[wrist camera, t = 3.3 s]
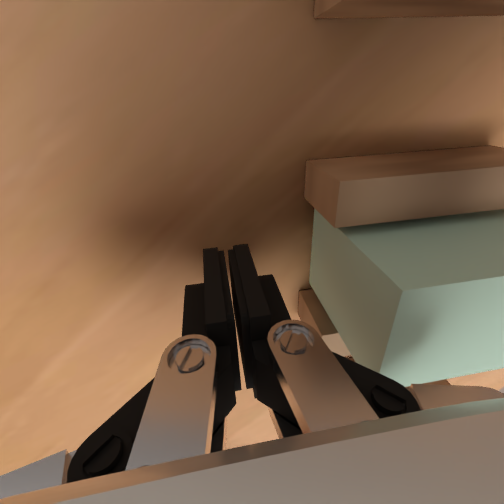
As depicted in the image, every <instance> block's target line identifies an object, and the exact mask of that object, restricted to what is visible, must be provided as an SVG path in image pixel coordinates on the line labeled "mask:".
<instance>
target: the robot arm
mask: <svg viewBox="0 0 504 504" xmlns="http://www.w3.org/2000/svg"><path fill="white" fill-rule="evenodd" d="M228 256H229V267H230V277H231V288H232V298H233V306H232V300H231V293H230V287H229V281H228V275H227V269H226V262H225V256H224V250H223V251H218V248H217V247H216V248H208V249H203V264H204V283H201V284H193V285H186V286H185V296H184V312H183V327H182V337H180V338H178V339H176V340H175V341H173V342H172V343H170V344H169V346H168V347H167V348H166V349H165V351H164V352H163V354H162V357H161V360H160V363H159V366H158V369H157V372H156V375H155V378H154V379H152V380H151V381H150V382H149V383H148V384H147V385H146V386H145V387H144V388H142V389H141V390H140V391H139V392H138V393H137V394H136V395H135V396H134V397H132V398H131V399H130V400H129V401H128V402H127V403H126V404H125V405H124V406H122V407H121V408H120V409H119V410H118V411H117V412H116V413H115V414H114V415H112V416H111V417H110V418H109V419H108V420H107V421H106V422H105V423H103V424H102V425H101V426H100V427H99V428H98V429H97V430H96V431H95V432H93V433H92V434H91V435H90V436H89V437H88V438H87V439H86V440H85V441H84V442H83V443H82V444H81V446H80V447H79V448H78V449H77V450H75V451H73V452H70V453H68V451H67V450H63V451H61V452H59V453H56V454H54V455H51V456H49V457H46V458H44V459H41V460H39V461H36V462H34V463H31V464H29V465H27V466H24V467H22V468H19V469H17V470H14V471H12V472H9V473H7V474H4V475H2V476H0V504H504V393H501V392H499V391H497V390H495V389H492V388H487V387H479V386H456V385H432V384H411V386H410V388H408V387H404V386H403V385H401V384H400V383H398V382H396V381H395V380H393V379H390V378H388V377H386V376H384V375H382V374H380V373H378V372H375V371H373V370H371V369H369V368H367V367H365V366H362V365H360V364H358V363H356V362H354V361H352V360H349V359H347V358H345V357H343V356H341V355H339V354H337V353H334V352H332V351H331V350H330V349H329V348H328V346H327V345H326V343H325V342H324V341H323V339H322V338H321V336H320V335H319V334H318V332H317V331H316V330H315V329H314V328H313V327H312V326H311V325H309V324H307V323H305V322H302V321H299V320H291V318H290V315H289V313H288V310H287V308H286V306H285V303H284V301H283V298H282V296H281V293H280V291H279V289H278V286H277V284H276V281H275V279H274V277H273V275H272V274H271V275H263V276H258V275H257V272H256V269H255V265H254V262H253V259H252V256H251V253H250V250H249V247H248V244H243V245H234V246H233V249H232V250H228ZM233 308H234V312H233ZM234 315H235V319H234ZM235 321H236V327H237V333H238V339H239V346H240V352H241V358H242V364H243V370H244V376H245V382H246V388H247V389H249V388H253V391H254V397H255V398H257V400H259V401H260V402H262V403H263V404H265V405H266V406H268V407H269V412H270V416H271V419H272V421H273V424H274V426H275V429H276V432H277V434H278V437H279V439H276V440H271V441H267V442H262V443H257V444H252V445H247V446H242V447H237V448H232V449H228V450H225V446H226V429H227V419H226V416H227V415H228V414H229V412H230V411H231V410H232V408H233V407H234V406H235V405H236V397H235V391H238V390H241V380H240V369H239V359H238V348H237V338H236V327H235Z"/></svg>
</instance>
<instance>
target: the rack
mask: <svg viewBox="0 0 504 504" xmlns="http://www.w3.org/2000/svg"><path fill="white" fill-rule="evenodd" d="M497 15H504V0H315V4H314V19H318V18H378V17H437V16H497ZM304 198H305V199H306V200H307V201H308V202H309V203H310V204H311V205H312V206H313V207H314V208H315V209H316V210H317V211H318V212H319V213H320V214H321V215H322V216H323V217H324V218H325V219H326V220H327V221H328V222H329V223H330V224H331V225H332V226H333V227H334V228H340V227H349V226H358V225H366V224H375V223H384V222H393V221H402V220H410V219H419V218H428V217H437V216H446V215H455V214H463V213H472V212H481V211H490V210H499V209H504V148H501V147H496V146H490V145H489V146H476V147H464V148H452V149H439V150H427V151H415V152H402V153H390V154H378V155H365V156H353V157H341V158H328V159H316V160H306V173H305V192H304ZM298 315H299V317H300V319H301V321H302V322H305V323H307V324H309V325H311V326H312V327H313V328H314V329H315V330H316V331H317V332H318V334H319V335H320V336H321V338H322V339H323V341H324V342H325V343H326V345H327V346H328V348H329V349H330V350H331V351H332V352H334V353H337V354H339V355H341V356H343V357H344V356H349V355H351V354H350V352H349V350H348V348H347V347H346V345H345V343H344V342H343V340H342V338H341V336H340V335H339V333H338V331H337V330H336V328H335V326H334V324H333V323H332V321H331V319H330V318H329V316H328V314H327V312H326V311H325V309H324V307H323V306H322V304H321V302H320V300H319V299H318V297H317V295H316V294H315V292H314V290H313V289H309V290H302V291H299V304H298ZM347 359H349V360H352V361H354V362H355V360H354V359H353V357H352V358H347ZM423 384H432V385H450V383H449V382H448V381H447V380H446V379H444V380H439V381H434V382H428V383H423ZM408 388H410V386H408Z"/></svg>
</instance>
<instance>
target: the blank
mask: <svg viewBox="0 0 504 504" xmlns="http://www.w3.org/2000/svg"><path fill="white" fill-rule="evenodd" d="M309 283H310V285H311V287H312V288H313V290H314V292H315V294H316V295H317V297H318V299H319V300H320V302H321V304H322V306H323V307H324V309H325V311H326V312H327V314H328V316H329V318H330V319H331V321H332V323H333V324H334V326H335V328H336V330H337V331H338V333H339V335H340V336H341V338H342V340H343V342H344V343H345V345H346V347H347V348H348V350H349V352H350V354H351V355H352V357H353V359H354V360H355V362H356V363H358V364H360V365H362V366H365V367H367V368H369V369H371V370H373V371H375V372H378V373H380V374H382V375H384V376H386V377H388V378H390V379H393V380H395V381H396V382H398V383H400V384H401V385H403V386H404V387H408V386H411V384H423V383H428V382H434V381H439V380H444V379H449V378H454V377H459V376H465V375H470V374H475V373H480V372H485V371H491V370H496V369H501V368H504V209H499V210H490V211H481V212H472V213H463V214H455V215H446V216H437V217H428V218H419V219H410V220H402V221H393V222H384V223H375V224H366V225H358V226H349V227H340V228H334V227H333V226H332V225H331V224H330V223H329V222H328V221H327V220H326V219H325V218H324V217H323V216H322V215H321V214H320V213H319V212H318V211H317V210H316V209H315V208H314V221H313V235H312V248H311V262H310V275H309Z"/></svg>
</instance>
